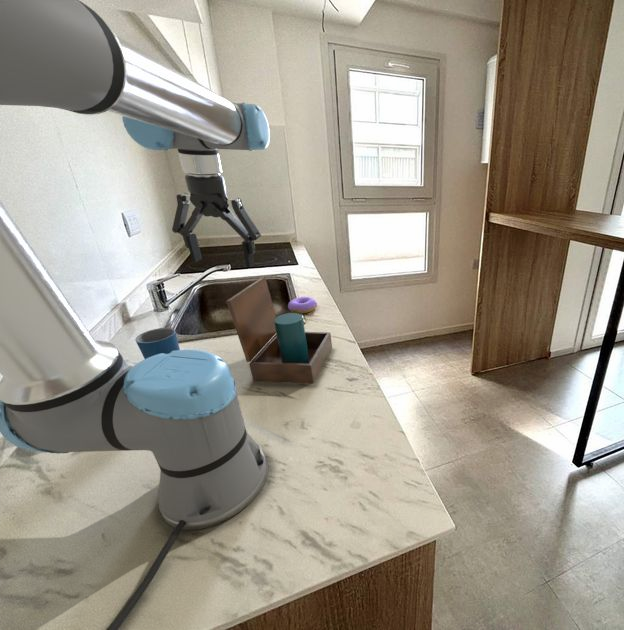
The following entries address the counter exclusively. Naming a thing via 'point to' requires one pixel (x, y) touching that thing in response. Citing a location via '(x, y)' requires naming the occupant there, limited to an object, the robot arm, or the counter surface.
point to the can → (291, 338)
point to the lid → (253, 317)
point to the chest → (273, 370)
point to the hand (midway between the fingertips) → (224, 262)
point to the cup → (157, 342)
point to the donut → (302, 305)
